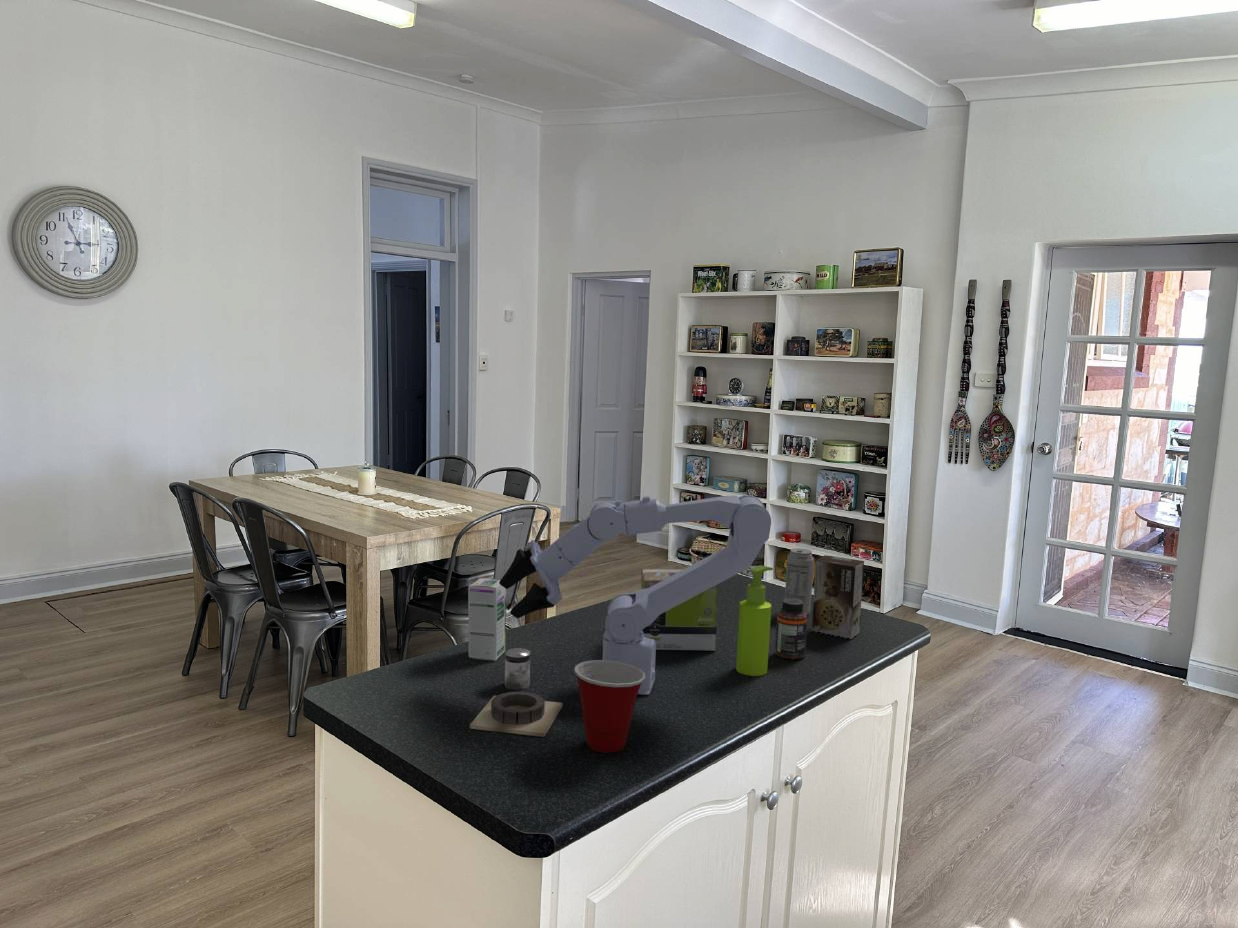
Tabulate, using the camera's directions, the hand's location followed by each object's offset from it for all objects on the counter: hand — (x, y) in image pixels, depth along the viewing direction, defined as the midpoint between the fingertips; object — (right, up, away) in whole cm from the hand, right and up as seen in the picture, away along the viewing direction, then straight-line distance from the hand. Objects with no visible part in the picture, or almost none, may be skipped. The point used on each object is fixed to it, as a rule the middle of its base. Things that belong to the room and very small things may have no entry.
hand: (508, 600), depth 157 cm
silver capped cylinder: (+2, -15, -1) cm, 15 cm away
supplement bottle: (+54, -14, +20) cm, 59 cm away
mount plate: (+3, -17, -14) cm, 22 cm away
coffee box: (+67, -13, +35) cm, 77 cm away
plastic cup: (+18, -19, -23) cm, 34 cm away
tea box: (+32, -13, +24) cm, 42 cm away
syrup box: (-6, -13, +14) cm, 20 cm away
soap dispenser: (+45, -15, +11) cm, 49 cm away
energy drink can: (+61, -11, +48) cm, 78 cm away
